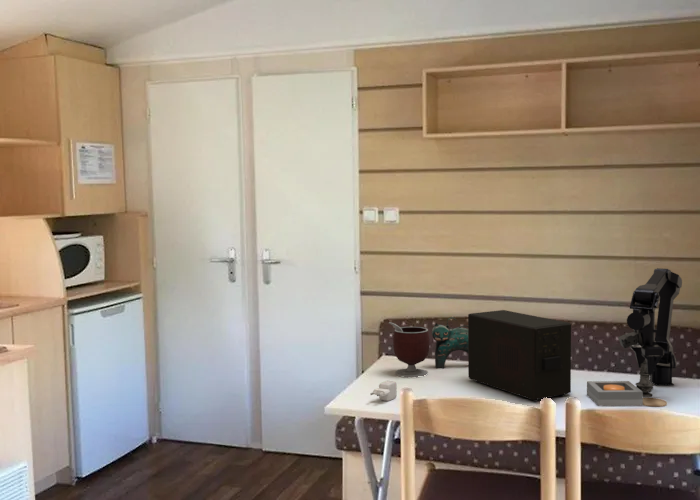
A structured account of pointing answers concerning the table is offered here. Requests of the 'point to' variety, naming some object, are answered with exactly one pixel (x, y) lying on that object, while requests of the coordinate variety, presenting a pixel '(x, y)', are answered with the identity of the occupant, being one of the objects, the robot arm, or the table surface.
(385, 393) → the power adapter
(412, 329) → the mate gourd
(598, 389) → the breaker guard
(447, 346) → the ceramic cat
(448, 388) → the table surface
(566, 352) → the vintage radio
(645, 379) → the salt shaker
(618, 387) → the button
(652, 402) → the coaster
